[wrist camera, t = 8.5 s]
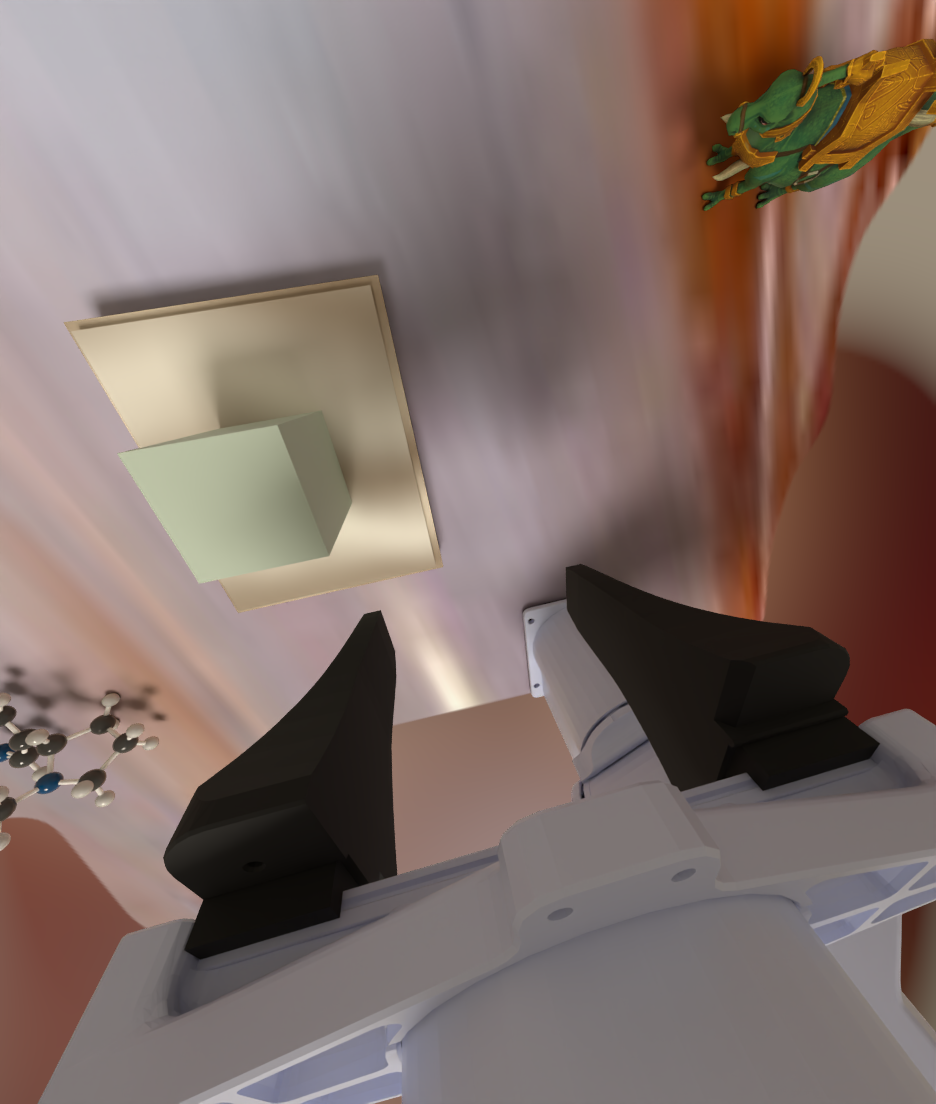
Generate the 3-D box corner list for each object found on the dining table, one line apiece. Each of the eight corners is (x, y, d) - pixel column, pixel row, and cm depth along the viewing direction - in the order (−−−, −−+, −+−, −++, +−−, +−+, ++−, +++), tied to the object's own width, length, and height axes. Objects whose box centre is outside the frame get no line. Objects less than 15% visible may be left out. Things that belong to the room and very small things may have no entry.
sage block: (352, 502, 17) (329, 555, 12) (263, 520, 17) (199, 583, 11) (321, 410, 15) (277, 425, 10) (220, 428, 15) (117, 453, 9)
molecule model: (-19, 638, 22) (-235, 778, 16) (142, 691, 21) (-28, 863, 15) (51, 682, 26) (-99, 806, 20) (187, 728, 25) (70, 873, 19)
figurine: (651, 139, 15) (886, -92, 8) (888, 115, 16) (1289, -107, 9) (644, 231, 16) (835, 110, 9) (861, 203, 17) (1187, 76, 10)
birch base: (440, 552, 22) (444, 571, 20) (252, 593, 21) (234, 618, 19) (381, 287, 15) (377, 270, 13) (105, 329, 15) (51, 320, 12)
